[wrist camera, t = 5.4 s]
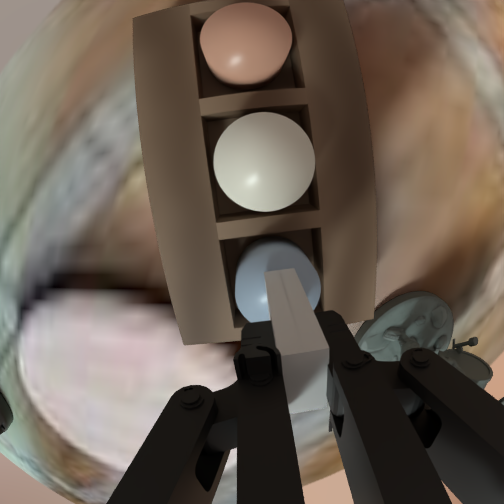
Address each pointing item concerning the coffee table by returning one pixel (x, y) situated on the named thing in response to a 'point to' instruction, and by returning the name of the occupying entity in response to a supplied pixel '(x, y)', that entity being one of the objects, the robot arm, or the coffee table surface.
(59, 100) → the coffee table surface
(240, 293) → the button slate
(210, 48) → the button terracotta
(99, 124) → the coffee table surface
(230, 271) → the button board
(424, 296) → the figurine
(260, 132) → the button cream
